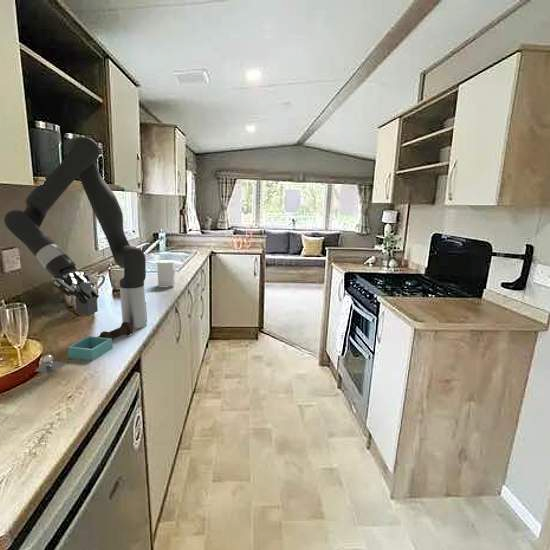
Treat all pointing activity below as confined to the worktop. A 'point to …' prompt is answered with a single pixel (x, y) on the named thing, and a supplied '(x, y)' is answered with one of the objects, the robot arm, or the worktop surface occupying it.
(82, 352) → the bin
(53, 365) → the stud plate
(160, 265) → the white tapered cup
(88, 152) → the robot arm
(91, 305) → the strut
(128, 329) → the brown bone toy
